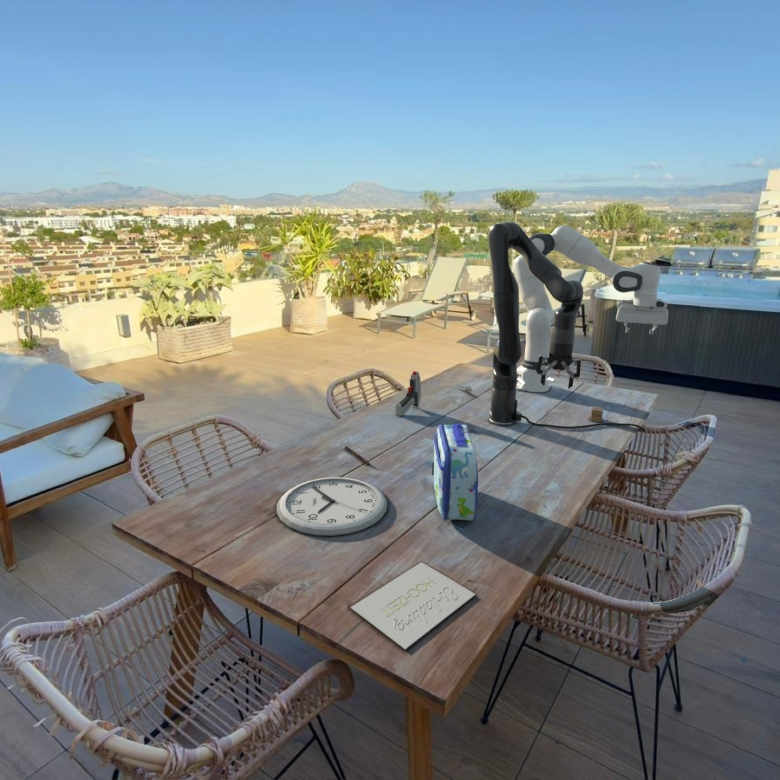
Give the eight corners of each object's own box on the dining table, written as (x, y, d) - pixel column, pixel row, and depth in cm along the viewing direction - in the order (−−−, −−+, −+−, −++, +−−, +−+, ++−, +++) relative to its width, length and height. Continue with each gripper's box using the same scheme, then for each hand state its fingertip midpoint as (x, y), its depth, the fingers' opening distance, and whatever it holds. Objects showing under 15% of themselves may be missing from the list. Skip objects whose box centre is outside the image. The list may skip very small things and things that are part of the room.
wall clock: (392, 527, 129) (268, 531, 127) (391, 533, 130) (269, 537, 127) (383, 473, 158) (282, 475, 155) (383, 478, 158) (282, 480, 156)
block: (590, 417, 213) (592, 406, 212) (601, 418, 212) (602, 407, 211) (590, 421, 209) (592, 409, 208) (601, 422, 208) (602, 411, 206)
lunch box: (430, 480, 157) (433, 415, 151) (465, 481, 157) (470, 415, 151) (436, 527, 133) (440, 452, 126) (478, 528, 133) (484, 453, 126)
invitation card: (421, 561, 119) (475, 593, 109) (421, 562, 119) (475, 594, 109) (350, 606, 104) (405, 648, 94) (350, 608, 104) (405, 649, 94)
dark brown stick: (344, 448, 179) (344, 445, 179) (346, 448, 179) (346, 445, 179) (367, 464, 167) (367, 462, 167) (368, 464, 167) (368, 461, 167)
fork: (470, 397, 235) (470, 393, 235) (457, 387, 250) (457, 383, 249) (475, 396, 236) (476, 392, 236) (462, 386, 251) (462, 382, 250)
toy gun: (394, 379, 206) (416, 369, 217) (395, 417, 212) (416, 405, 223) (399, 380, 205) (420, 370, 216) (400, 418, 211) (421, 406, 222)
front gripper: (539, 340, 176) (534, 386, 180) (584, 344, 171) (577, 392, 176) (541, 336, 182) (536, 381, 187) (584, 340, 178) (578, 386, 183)
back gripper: (618, 300, 223) (613, 332, 227) (671, 303, 217) (665, 336, 221) (617, 298, 229) (613, 330, 233) (669, 302, 222) (663, 334, 226)
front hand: (556, 386), depth 182 cm, fingers open, 8 cm apart
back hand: (639, 333), depth 227 cm, fingers open, 8 cm apart
